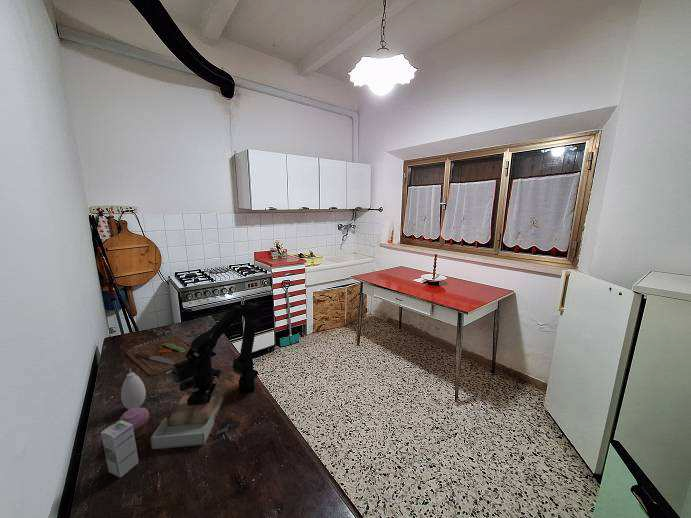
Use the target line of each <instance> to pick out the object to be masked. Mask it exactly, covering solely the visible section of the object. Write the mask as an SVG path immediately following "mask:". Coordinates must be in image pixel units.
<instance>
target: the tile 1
mask: <svg viewBox="0 0 691 518" xmlns="http://www.w3.org/2000/svg"><path fill="white" fill-rule="evenodd" d="M190 395H191V394H187V395H185V394H184V395H183V396H182V397H181V398H180V401H179V402H178V403H177V407H178V409H179V411H182V410H192V409H193V407H194V406H195V405H192V406H188V405H187V399H188V398H189V396H190Z"/></svg>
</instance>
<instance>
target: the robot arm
mask: <svg viewBox="0 0 691 518" xmlns="http://www.w3.org/2000/svg"><path fill="white" fill-rule="evenodd" d="M263 313H264V307H263V306H262V305H260V304H258V303H253V302H247V304H238V305H233V306H232V307H230V309H229V310H228V311H227V312H226V314H224V315H223V316H222V317H221V318H220V319H219V320H218V321H217V322H216V323H215V324H214V325H213V326H211V328H210V329H209V330H207V331H205V332H203V333H201V334H200V335H198V336H196V337H195V338H194V339H193V340H192V341H191V343H190V344H191V347H190V349H189V351H188V352H187V354H186V356H185V358H187V360H184V361H182V362H179V363H176V364H174V368H172V369H171V370H172V371H171V370H170V371H171V372H170V373H171V377H172V379H173V381H174V383H175V384H179V385H178V386H179V388H178V389H179V390H180V392H186V391H187V390H189V389H192V388H193V390H196V391H192V392H191V393H190V394H189V395H190V396H189V398H188V399H187V405H188V406H192V405H203V404H205V403H210V400H211V397H213V394H214V391H215V389H216V387H217V383H214V382H215V380H216V379H218V380H219V379H220V378H221V376H222V371H221V370H220V369H218V368H217V369H215V368H214V367H213V364H212V363H213V362H212V358H213V357H215V356H217V355H218V354H217V353H216V352H214V351H213V350H214V349H215V347H216V346H217V344H218V341H219V339H220V338H221V337H222V335H224V334H225V333H226V331H228V329H229V328H230V327H231V326H232V325H233V324H235V322H236V321H237V320H238V319H239V318H240V317H243V318H244V323H245V325H244V328H243V329H244V330H243V334H242V340H241V346H240V353H239V355H238V357H237V358H234V359H233V364H232V366H231V368H232V371H233V372H234V373H235V374H236V375H237V376H239V379H238V389H239V394H240V393H252V392H255V389H256V387H257V384H258V382H257V380H256V378H257V377H258V376H259V371H258V370H256V369H254V361H253V355H252V353H253V349H254V343H255V337H256V331H257V326H258V323H260V321H261V320H262V317H263ZM194 353H197V354H199V355H198V357H197V356H196V355H194Z"/></svg>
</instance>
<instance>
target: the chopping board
mask: <svg viewBox="0 0 691 518" xmlns="http://www.w3.org/2000/svg"><path fill="white" fill-rule="evenodd" d="M170 337H171V338H170ZM173 337H175V338H177V339H178V340H180V341H182V342H183V343H184V344H186V345H187V346H188V347H187V346H186V345H184V344H182V343H181V342H179V341H178V340H176V339H174V338H173ZM162 338H163V337H162ZM167 338H168V339H167ZM158 339H160V338H158ZM158 339H155V340H157V341H155V340H151V341H148V342H145V343H141V344H139V345H135V346H134V347H132V348H130V349H128V350H126V351H125V355H126V356H128V357H129V359H131V361H133V362H134V363H135V364H136V365H137V366H138V368H140V369H141V370H142V371H143V372H144V373H146V374H147V375H148V376H149V377H153V376H159V375H161V374H165V375H168V374H170V373H171V371H172V368H174V364H176V363H179V362H182V361H184V360H187V358H185V356H186V354H187V352H188V351H189V349H190V348H189V347H191V343H190V342H189V341H187V340H185V339H183V338H181V337H180V336H178V335H169V336H167V337H165V338H163V339H160V340H158ZM164 339H165V340H164ZM152 341H154V342H152ZM149 342H151V343H149ZM146 343H147V344H146ZM143 344H144V345H143ZM194 355H196V356H197V357H198V355H199V354H197V353H194Z"/></svg>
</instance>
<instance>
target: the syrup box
mask: <svg viewBox="0 0 691 518" xmlns="http://www.w3.org/2000/svg"><path fill="white" fill-rule="evenodd" d="M100 434H101V435H100V436H101V439H102V446H103V451H104V456H105V462H106V466H107V467H106V468H107V471H108V473H110V474H112V475H113V476H116V477H117V478H122V477H123V476H125V474H127V473H128V472H130V470H133V468H134V467H136V466H137V465H138V464H139V456H138V450H137V449H138V448H137V444H136V439H135V437H134V431H133V425H132V424H130V423H128V422H125V421H123V420H120V419H119V420H117V421H116V422H114V423H112V424H111V425H110V426H108V427H106V428H105V429H104V430H103V431H101V432H100Z"/></svg>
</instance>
